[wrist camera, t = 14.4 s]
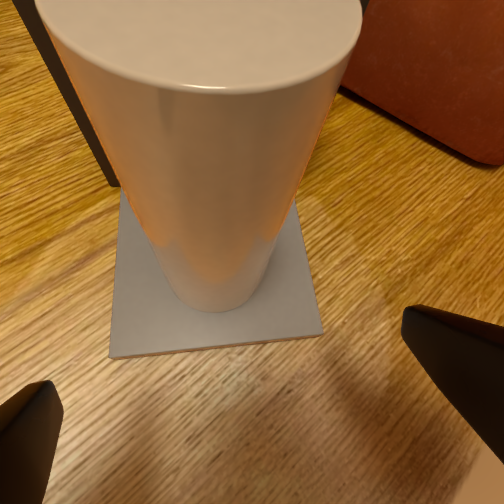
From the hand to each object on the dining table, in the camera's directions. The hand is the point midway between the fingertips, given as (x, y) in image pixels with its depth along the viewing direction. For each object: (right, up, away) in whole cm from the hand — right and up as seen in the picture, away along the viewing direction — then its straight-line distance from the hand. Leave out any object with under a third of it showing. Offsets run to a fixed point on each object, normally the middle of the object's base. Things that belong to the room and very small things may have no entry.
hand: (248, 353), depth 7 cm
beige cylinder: (-2, +2, +9) cm, 10 cm away
